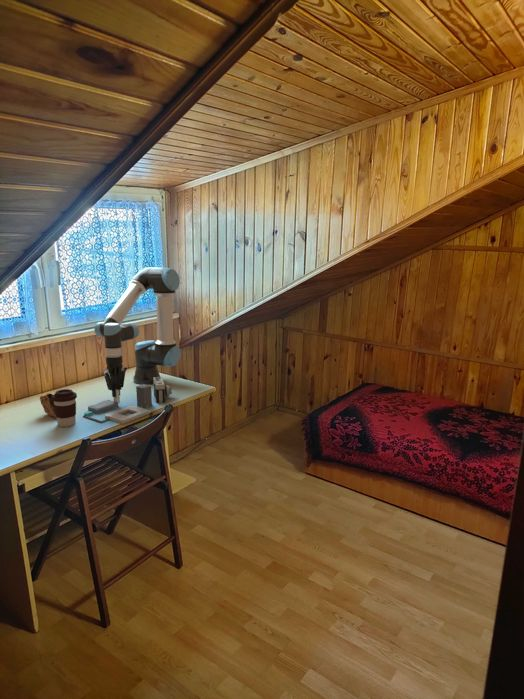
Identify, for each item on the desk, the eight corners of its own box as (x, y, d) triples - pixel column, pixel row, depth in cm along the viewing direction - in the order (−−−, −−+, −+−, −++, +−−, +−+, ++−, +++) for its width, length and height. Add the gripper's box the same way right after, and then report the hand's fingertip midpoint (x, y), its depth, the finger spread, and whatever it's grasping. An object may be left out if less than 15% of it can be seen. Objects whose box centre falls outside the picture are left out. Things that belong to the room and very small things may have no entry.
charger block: (144, 403, 231) (143, 383, 228) (152, 405, 228) (151, 385, 226) (137, 406, 227) (136, 386, 224) (144, 408, 224) (143, 387, 222)
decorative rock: (39, 415, 213) (37, 392, 211) (51, 411, 218) (49, 389, 216) (58, 419, 208) (56, 397, 205) (69, 415, 213) (67, 393, 211)
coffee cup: (79, 418, 209) (76, 387, 206) (78, 426, 200) (76, 393, 197) (55, 421, 206) (52, 389, 203) (53, 429, 197) (50, 396, 194)
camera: (172, 402, 233) (172, 382, 231) (156, 403, 231) (155, 384, 228) (169, 393, 246) (168, 375, 244) (153, 394, 244) (152, 376, 241)
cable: (90, 413, 216) (90, 410, 215) (109, 419, 209) (109, 416, 208) (82, 416, 212) (81, 413, 211) (101, 423, 205) (101, 420, 204)
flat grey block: (108, 404, 229) (108, 399, 228) (118, 407, 225) (118, 402, 225) (88, 411, 219) (87, 406, 218) (97, 414, 215) (97, 409, 215)
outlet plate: (132, 408, 223) (132, 405, 223) (150, 413, 217) (149, 410, 217) (105, 418, 210) (104, 415, 210) (123, 424, 204) (122, 420, 204)
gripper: (119, 352, 228) (122, 397, 234) (97, 357, 218) (100, 404, 223) (129, 354, 224) (132, 400, 230) (108, 359, 214) (111, 407, 219)
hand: (116, 402), depth 226 cm, fingers closed
